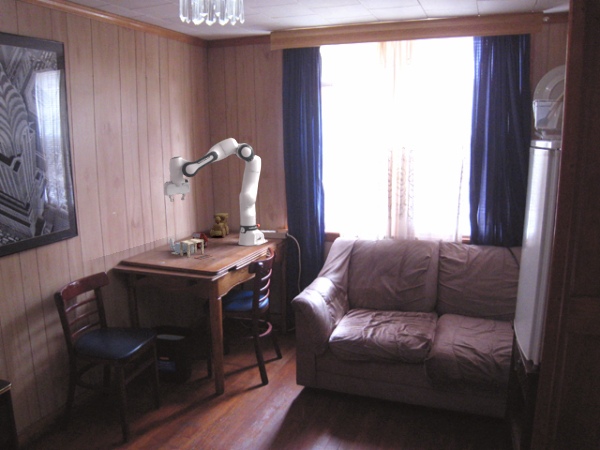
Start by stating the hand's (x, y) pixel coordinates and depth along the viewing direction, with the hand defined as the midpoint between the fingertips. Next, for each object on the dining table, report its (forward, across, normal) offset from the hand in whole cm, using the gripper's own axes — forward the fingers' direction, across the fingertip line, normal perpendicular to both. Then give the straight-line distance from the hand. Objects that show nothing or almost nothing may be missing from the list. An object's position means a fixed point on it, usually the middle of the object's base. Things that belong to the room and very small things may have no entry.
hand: (177, 200), depth 343 cm
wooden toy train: (+33, +47, +8) cm, 58 cm away
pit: (+33, -9, -34) cm, 48 cm away
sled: (+33, -9, -13) cm, 37 cm away
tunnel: (+33, -9, -23) cm, 41 cm away
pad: (+33, -9, -11) cm, 36 cm away
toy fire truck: (+33, +10, -10) cm, 36 cm away
